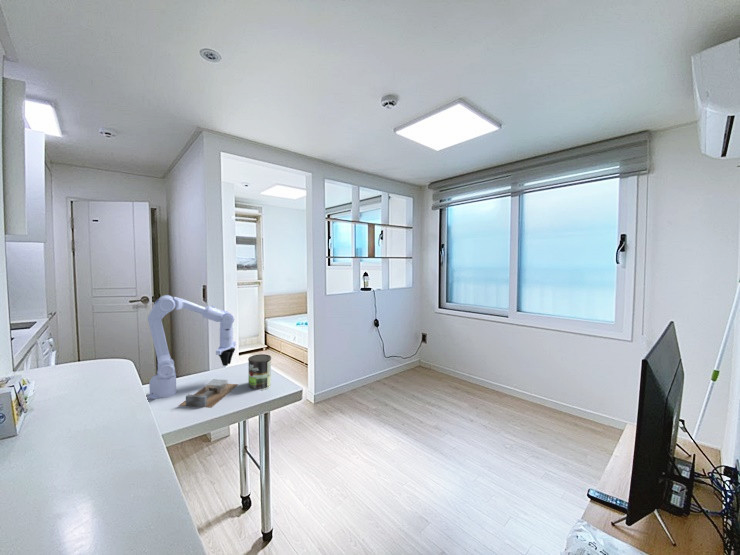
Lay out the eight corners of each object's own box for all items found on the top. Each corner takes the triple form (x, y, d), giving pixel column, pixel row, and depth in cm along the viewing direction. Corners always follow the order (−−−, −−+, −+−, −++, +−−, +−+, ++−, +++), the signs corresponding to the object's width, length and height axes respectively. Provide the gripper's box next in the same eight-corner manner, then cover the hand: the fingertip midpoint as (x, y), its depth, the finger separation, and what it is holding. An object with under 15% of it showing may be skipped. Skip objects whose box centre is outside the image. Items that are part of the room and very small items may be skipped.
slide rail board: (178, 407, 123) (178, 396, 122) (210, 384, 145) (210, 374, 144) (211, 409, 122) (211, 398, 122) (238, 385, 144) (238, 376, 143)
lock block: (205, 392, 135) (205, 384, 135) (213, 386, 141) (213, 379, 141) (220, 393, 135) (220, 385, 134) (227, 387, 140) (227, 380, 140)
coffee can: (258, 393, 137) (258, 363, 136) (243, 387, 142) (243, 358, 141) (275, 384, 146) (275, 356, 145) (260, 380, 151) (260, 352, 150)
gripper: (226, 341, 137) (226, 370, 138) (241, 333, 151) (241, 359, 152) (211, 341, 137) (211, 369, 138) (228, 332, 152) (228, 359, 153)
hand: (226, 364), depth 146 cm, fingers closed
